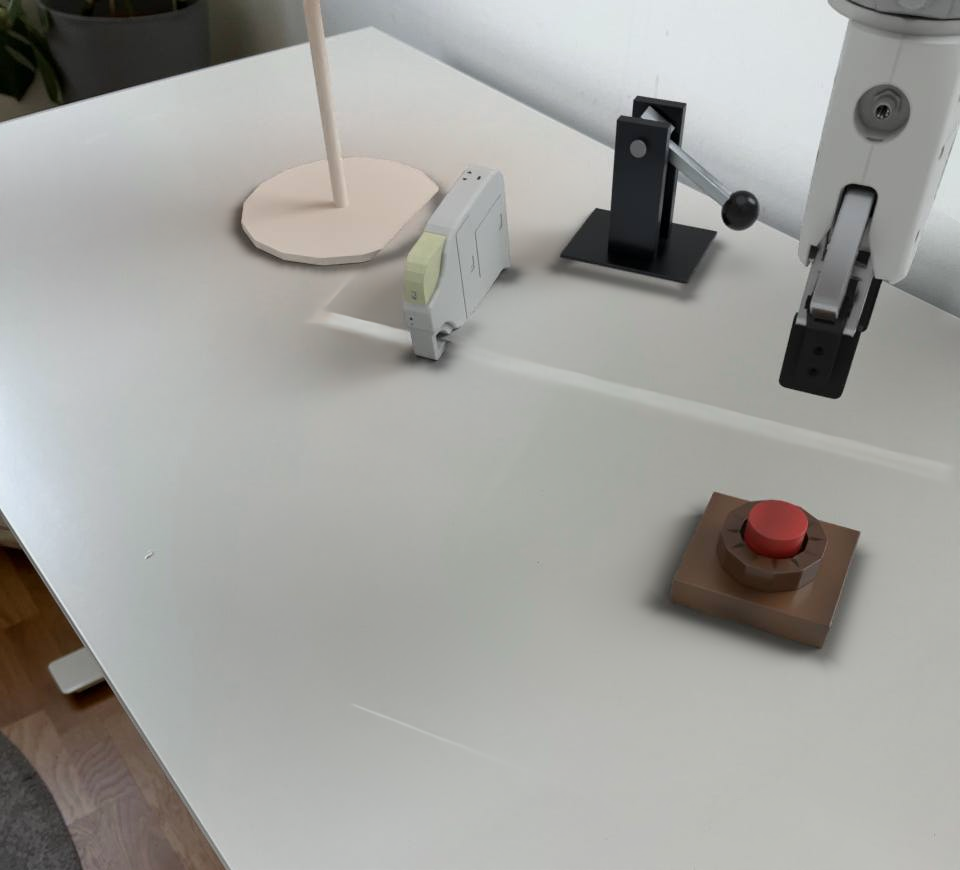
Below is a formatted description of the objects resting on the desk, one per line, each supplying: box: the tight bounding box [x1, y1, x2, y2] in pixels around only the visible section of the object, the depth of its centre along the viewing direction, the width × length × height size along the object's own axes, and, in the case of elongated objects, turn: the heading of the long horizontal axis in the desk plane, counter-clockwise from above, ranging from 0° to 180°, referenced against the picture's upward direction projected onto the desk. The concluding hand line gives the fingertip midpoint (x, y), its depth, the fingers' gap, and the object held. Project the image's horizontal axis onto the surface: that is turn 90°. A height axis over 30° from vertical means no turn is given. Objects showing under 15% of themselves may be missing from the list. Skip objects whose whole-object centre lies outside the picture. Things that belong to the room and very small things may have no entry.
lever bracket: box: [559, 95, 718, 285], centre depth 86 cm, size 12×9×13 cm
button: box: [744, 499, 808, 559], centre depth 62 cm, size 4×4×2 cm
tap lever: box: [640, 106, 761, 232], centre depth 83 cm, size 13×3×3 cm, turn 66°
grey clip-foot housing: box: [402, 163, 512, 361], centre depth 82 cm, size 11×3×15 cm
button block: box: [668, 491, 862, 649], centre depth 64 cm, size 10×9×4 cm
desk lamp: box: [240, 0, 440, 266], centre depth 86 cm, size 30×30×31 cm
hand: (824, 353), depth 52 cm, fingers open, 5 cm apart
